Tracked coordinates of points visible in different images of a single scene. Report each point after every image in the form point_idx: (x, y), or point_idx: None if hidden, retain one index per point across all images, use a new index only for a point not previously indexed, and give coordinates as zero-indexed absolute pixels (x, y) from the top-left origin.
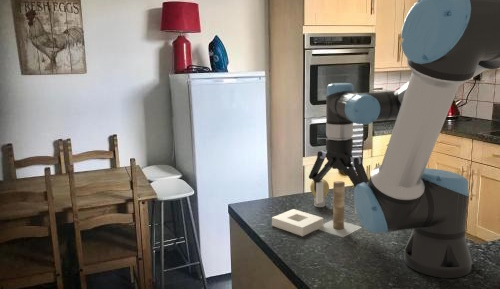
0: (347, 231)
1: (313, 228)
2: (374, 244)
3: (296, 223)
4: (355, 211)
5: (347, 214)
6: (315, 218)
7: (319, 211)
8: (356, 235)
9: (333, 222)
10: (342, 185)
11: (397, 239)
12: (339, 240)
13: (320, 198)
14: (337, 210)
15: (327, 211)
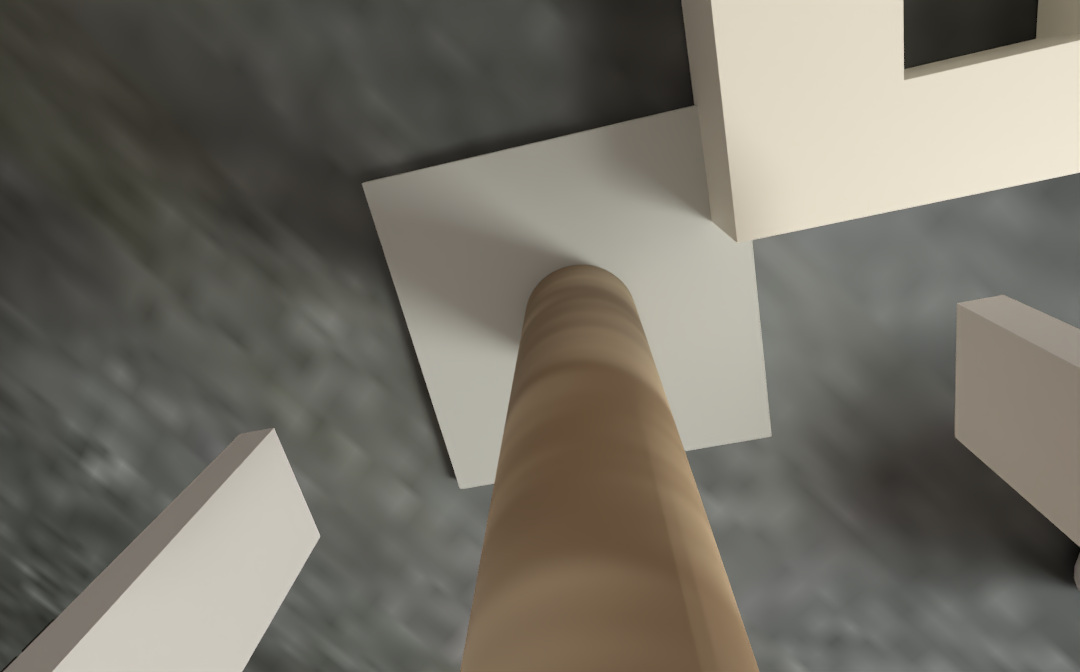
0: (455, 321)
1: (693, 17)
2: (135, 324)
3: None
4: (236, 453)
5: (777, 598)
6: (801, 141)
7: None
8: (366, 339)
9: (607, 287)
10: None
11: None
12: (351, 119)
13: (1006, 402)
14: (542, 359)
15: (971, 525)
